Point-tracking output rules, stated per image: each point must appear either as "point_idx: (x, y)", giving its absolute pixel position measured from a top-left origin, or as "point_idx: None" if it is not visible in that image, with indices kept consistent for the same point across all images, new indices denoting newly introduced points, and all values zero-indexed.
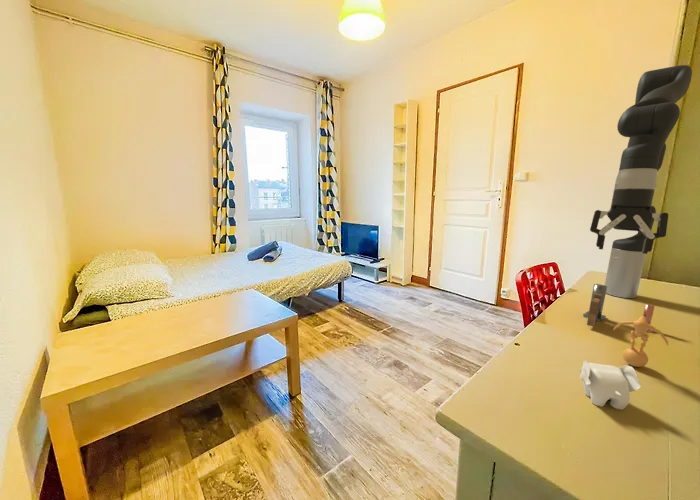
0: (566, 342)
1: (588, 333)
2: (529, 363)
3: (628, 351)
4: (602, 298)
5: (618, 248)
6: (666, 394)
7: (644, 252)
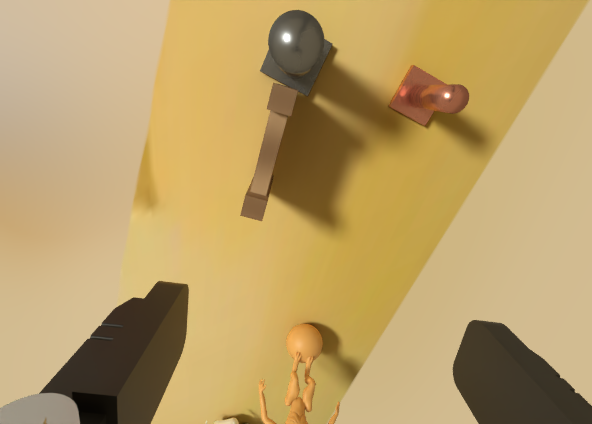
0: (202, 293)
1: None
2: None
3: (291, 355)
4: (306, 72)
5: None
6: (319, 389)
7: (458, 384)
